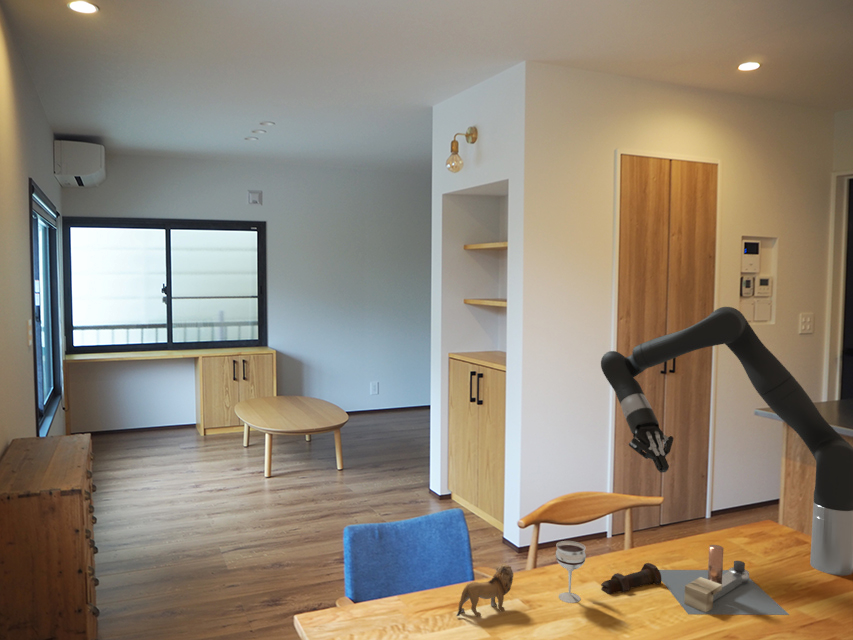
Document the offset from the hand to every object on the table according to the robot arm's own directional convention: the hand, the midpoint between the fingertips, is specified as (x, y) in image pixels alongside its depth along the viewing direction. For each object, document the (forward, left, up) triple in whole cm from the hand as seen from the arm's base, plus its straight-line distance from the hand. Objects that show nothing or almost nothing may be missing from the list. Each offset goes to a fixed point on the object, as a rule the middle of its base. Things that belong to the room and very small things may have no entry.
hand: (664, 470), depth 174 cm
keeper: (+18, +17, -23) cm, 34 cm away
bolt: (+21, +1, -24) cm, 32 cm away
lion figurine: (+51, -19, -24) cm, 60 cm away
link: (+8, +18, -22) cm, 30 cm away
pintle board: (+10, +17, -24) cm, 31 cm away
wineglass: (+34, -8, -24) cm, 42 cm away
